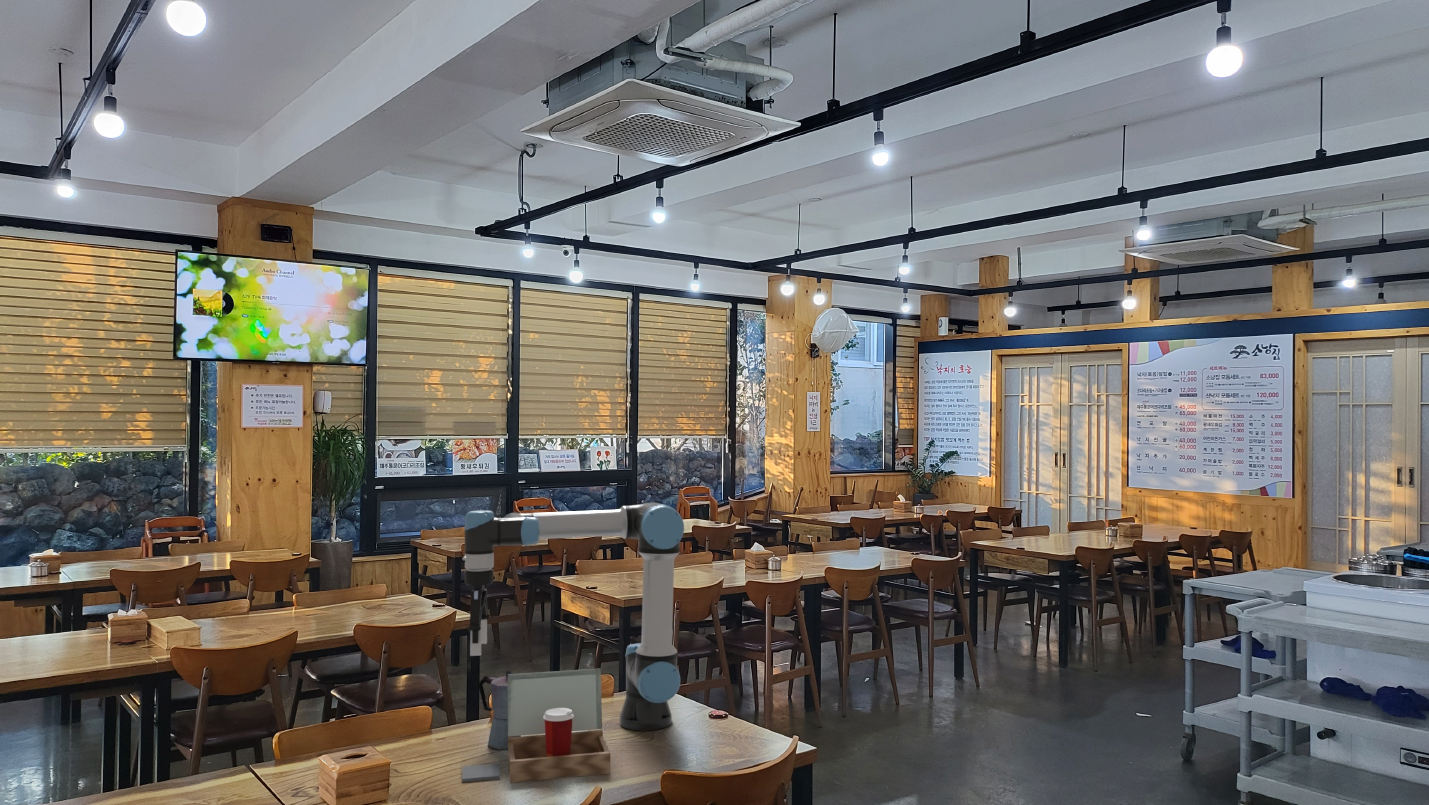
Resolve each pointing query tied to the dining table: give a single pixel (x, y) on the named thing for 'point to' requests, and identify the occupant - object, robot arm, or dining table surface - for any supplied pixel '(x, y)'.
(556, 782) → the dining table surface
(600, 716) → the lid
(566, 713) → the paper cup
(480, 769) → the plate
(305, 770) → the dining table surface
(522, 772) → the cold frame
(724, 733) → the dining table surface
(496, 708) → the moka pot
